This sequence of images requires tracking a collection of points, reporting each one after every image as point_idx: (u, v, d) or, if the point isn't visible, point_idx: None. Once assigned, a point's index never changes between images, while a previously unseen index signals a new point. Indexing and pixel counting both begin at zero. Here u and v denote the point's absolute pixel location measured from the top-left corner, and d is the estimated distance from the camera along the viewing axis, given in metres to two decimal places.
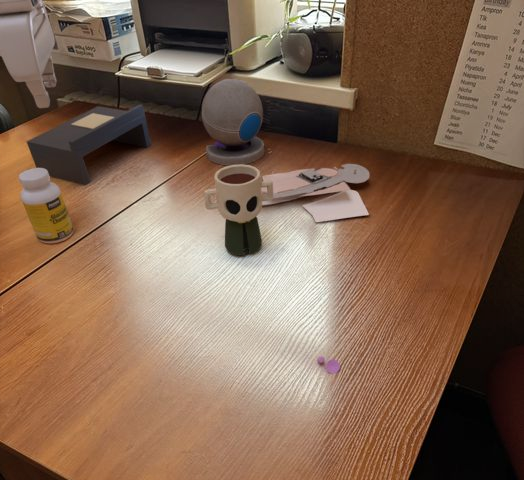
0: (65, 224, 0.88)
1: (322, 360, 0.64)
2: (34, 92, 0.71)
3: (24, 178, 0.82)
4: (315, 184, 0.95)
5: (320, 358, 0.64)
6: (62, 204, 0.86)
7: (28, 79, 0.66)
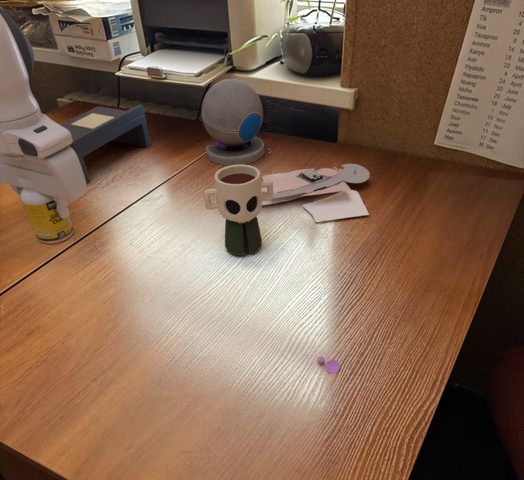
0: (64, 224, 0.88)
1: (322, 360, 0.64)
2: (61, 207, 0.84)
3: None
4: (315, 184, 0.95)
5: (320, 358, 0.64)
6: None
7: (80, 196, 0.81)
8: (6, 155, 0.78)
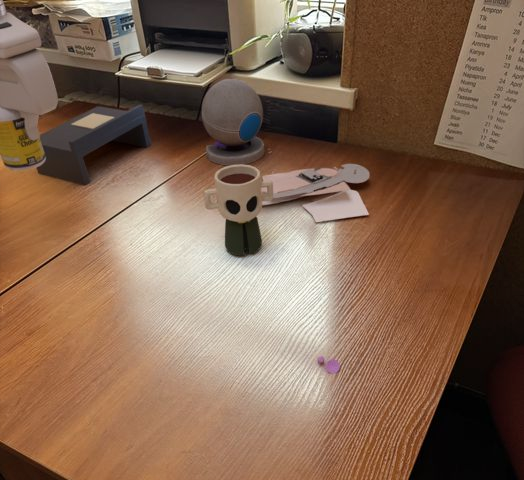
0: (35, 149, 0.79)
1: (322, 360, 0.64)
2: (30, 125, 0.75)
3: None
4: (315, 184, 0.95)
5: (320, 358, 0.64)
6: None
7: (50, 109, 0.71)
8: None
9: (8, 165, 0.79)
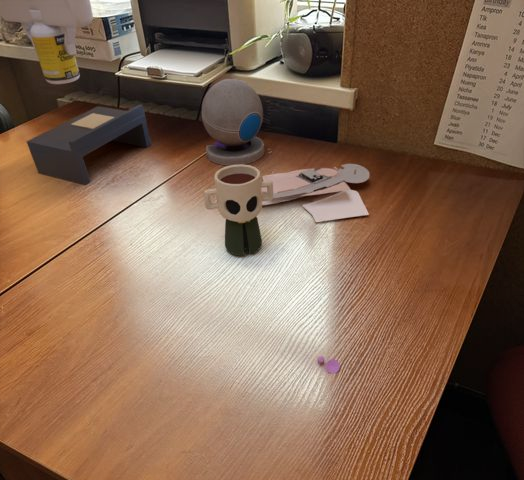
0: (72, 64, 0.93)
1: (322, 360, 0.64)
2: (69, 41, 0.89)
3: (34, 10, 0.87)
4: (315, 184, 0.95)
5: (320, 358, 0.64)
6: None
7: (86, 24, 0.86)
8: None
9: (49, 79, 0.93)
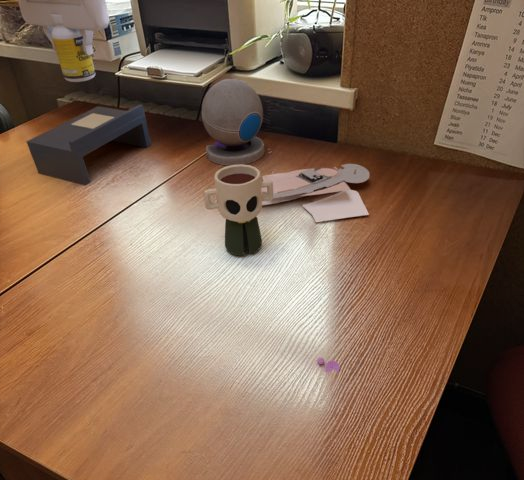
0: (88, 64, 1.02)
1: (322, 361, 0.64)
2: (87, 42, 0.98)
3: (55, 14, 0.96)
4: (315, 184, 0.95)
5: (320, 359, 0.64)
6: None
7: (104, 27, 0.94)
8: None
9: (68, 77, 1.02)
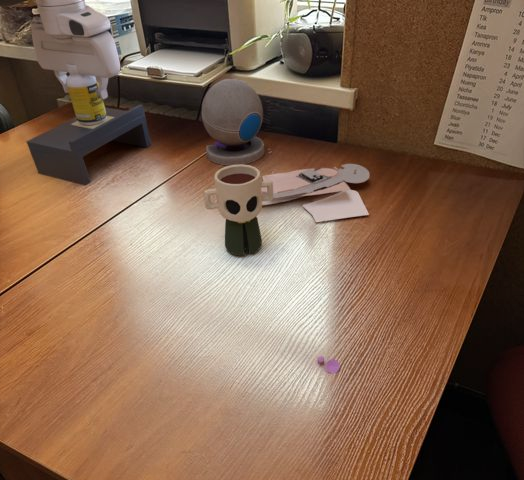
0: (100, 108, 1.08)
1: (322, 360, 0.64)
2: (102, 87, 1.03)
3: None
4: (315, 184, 0.95)
5: (320, 358, 0.64)
6: None
7: (115, 74, 1.00)
8: (57, 38, 0.98)
9: (81, 120, 1.08)
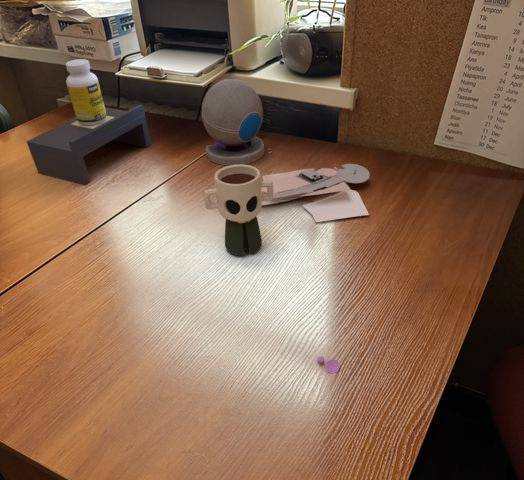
0: (100, 108, 1.08)
1: (322, 360, 0.64)
2: None
3: (70, 64, 1.02)
4: (315, 184, 0.95)
5: (320, 358, 0.64)
6: (99, 90, 1.06)
7: None
8: None
9: (81, 120, 1.08)
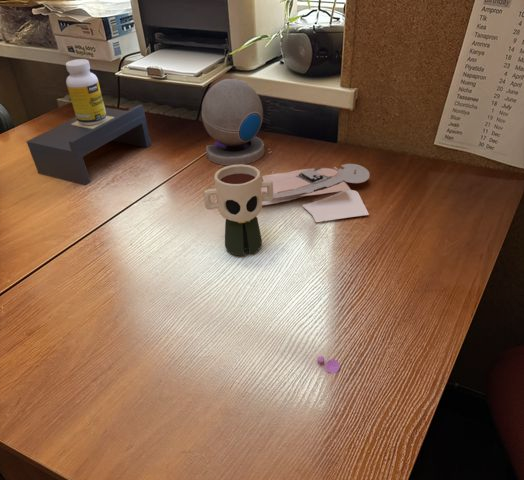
0: (100, 108, 1.08)
1: (322, 360, 0.64)
2: None
3: (70, 64, 1.02)
4: (315, 184, 0.95)
5: (320, 358, 0.64)
6: (99, 90, 1.06)
7: None
8: None
9: (81, 120, 1.08)
